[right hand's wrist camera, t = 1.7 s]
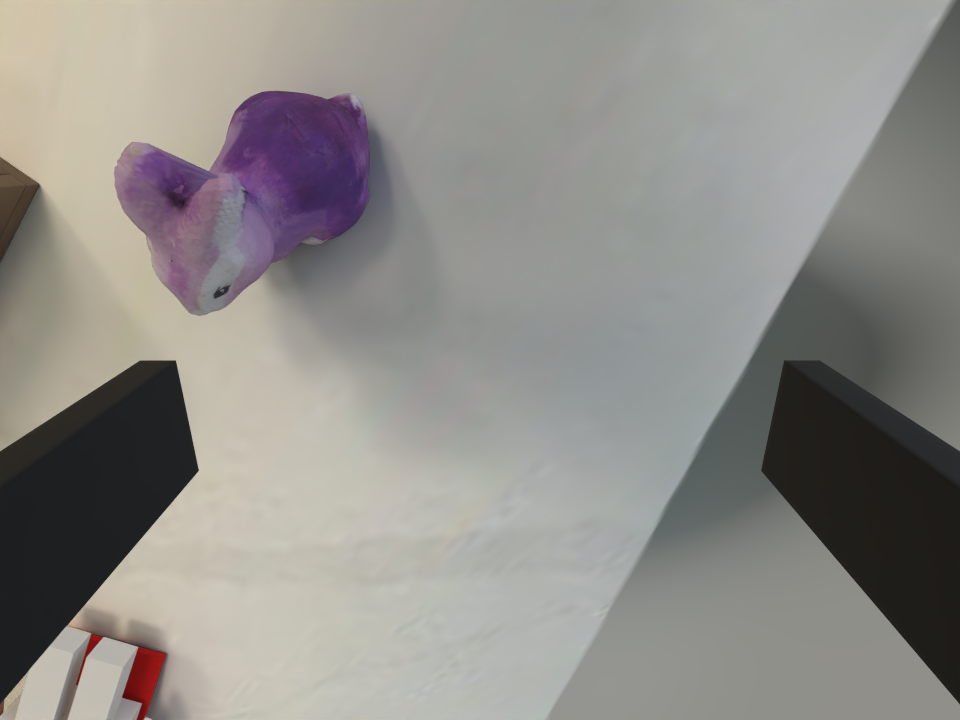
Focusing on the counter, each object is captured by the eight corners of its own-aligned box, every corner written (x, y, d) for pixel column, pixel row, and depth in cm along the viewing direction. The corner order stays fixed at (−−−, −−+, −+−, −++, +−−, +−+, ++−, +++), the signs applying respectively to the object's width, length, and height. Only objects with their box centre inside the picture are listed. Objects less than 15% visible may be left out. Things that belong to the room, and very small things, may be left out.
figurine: (245, 273, 37) (102, 354, 23) (209, 101, 33) (12, 71, 19) (390, 265, 37) (335, 340, 23) (369, 90, 33) (288, 51, 19)
